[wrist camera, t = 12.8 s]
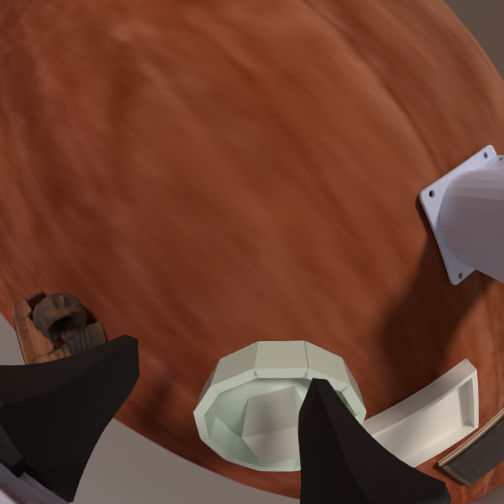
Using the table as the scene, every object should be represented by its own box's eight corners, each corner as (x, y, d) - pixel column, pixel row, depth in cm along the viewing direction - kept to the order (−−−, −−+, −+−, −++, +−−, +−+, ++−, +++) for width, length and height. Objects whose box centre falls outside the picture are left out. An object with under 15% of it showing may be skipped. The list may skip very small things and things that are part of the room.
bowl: (314, 311, 19) (321, 335, 16) (373, 412, 21) (382, 438, 17) (176, 377, 21) (163, 402, 18) (256, 456, 23) (253, 481, 20)
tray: (465, 358, 19) (476, 369, 16) (471, 416, 20) (478, 426, 18) (342, 430, 21) (345, 446, 19) (373, 471, 23) (376, 484, 21)
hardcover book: (519, 385, 19) (526, 393, 17) (524, 429, 21) (528, 435, 19) (435, 459, 23) (439, 470, 21) (463, 481, 25) (466, 488, 23)
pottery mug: (105, 383, 24) (40, 404, 17) (72, 312, 27) (13, 324, 20) (128, 330, 18) (25, 356, 11) (87, 239, 21) (4, 246, 15)
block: (309, 415, 20) (312, 454, 16) (266, 425, 21) (263, 464, 17) (294, 385, 20) (296, 426, 15) (248, 397, 20) (241, 438, 16)
